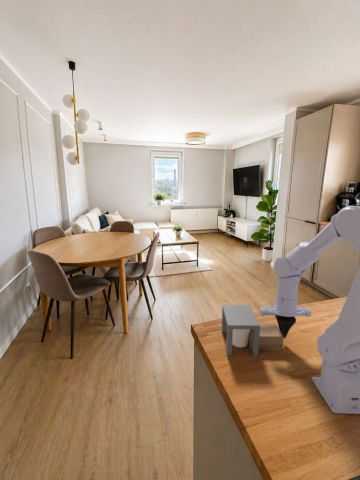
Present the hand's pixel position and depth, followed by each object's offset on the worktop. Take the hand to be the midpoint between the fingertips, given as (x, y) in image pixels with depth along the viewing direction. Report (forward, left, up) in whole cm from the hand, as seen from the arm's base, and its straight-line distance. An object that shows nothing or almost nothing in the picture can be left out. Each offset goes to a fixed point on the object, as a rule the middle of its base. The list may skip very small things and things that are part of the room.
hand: (282, 336), depth 73 cm
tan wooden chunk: (0, +6, -2) cm, 6 cm away
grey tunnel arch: (0, +14, -2) cm, 14 cm away
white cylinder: (0, +13, -3) cm, 14 cm away
